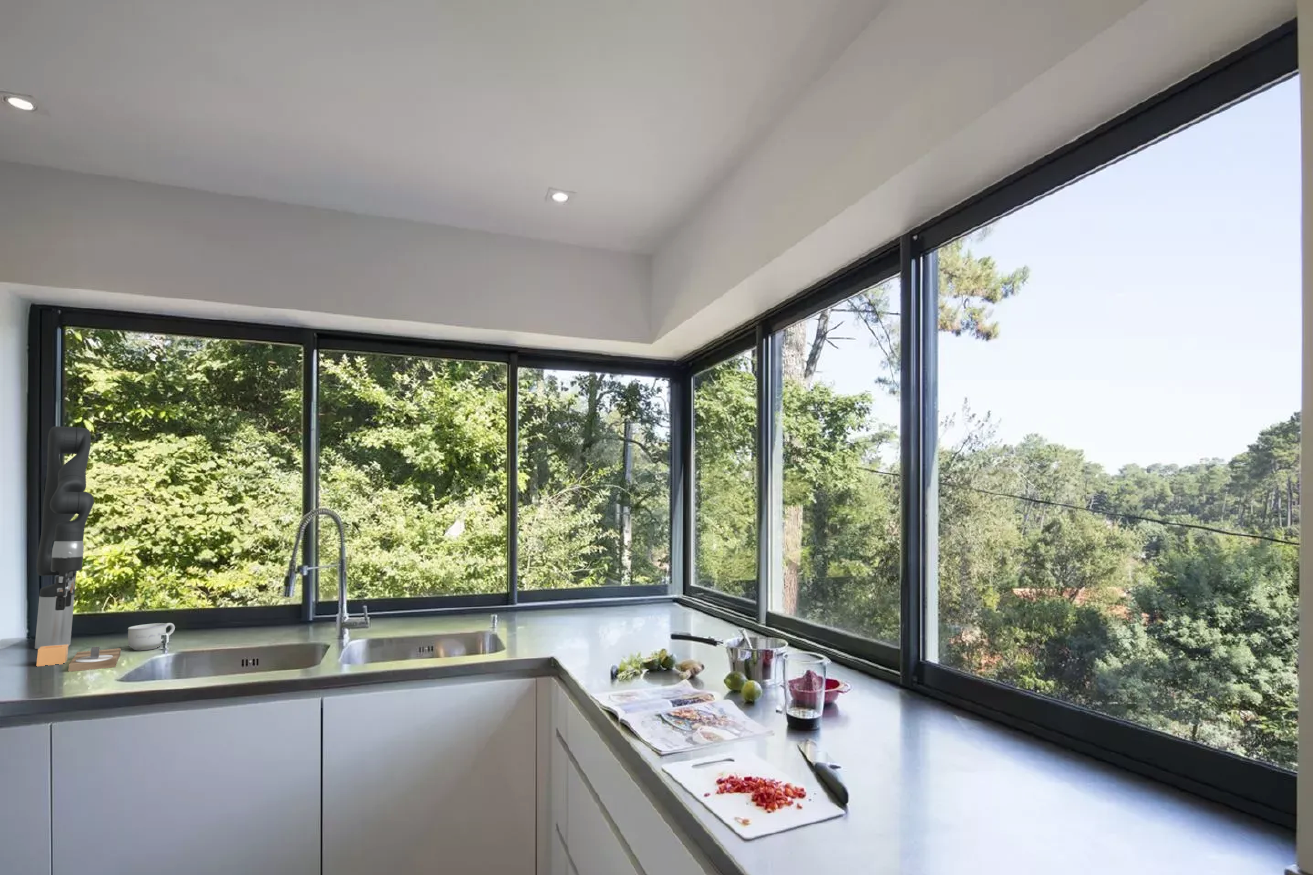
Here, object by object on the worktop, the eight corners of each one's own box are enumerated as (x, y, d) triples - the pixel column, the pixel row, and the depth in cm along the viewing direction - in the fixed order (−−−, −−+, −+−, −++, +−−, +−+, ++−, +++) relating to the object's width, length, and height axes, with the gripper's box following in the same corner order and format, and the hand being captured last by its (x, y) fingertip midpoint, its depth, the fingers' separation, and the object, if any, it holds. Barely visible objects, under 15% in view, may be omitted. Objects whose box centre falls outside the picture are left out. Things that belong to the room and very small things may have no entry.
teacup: (132, 653, 231) (134, 628, 232) (121, 649, 237) (123, 625, 238) (180, 647, 242) (182, 623, 243) (168, 642, 249) (170, 619, 249)
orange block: (36, 666, 212) (37, 649, 213) (39, 662, 217) (40, 646, 217) (64, 663, 216) (66, 647, 216) (67, 660, 220) (68, 644, 221)
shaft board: (77, 658, 223) (78, 640, 224) (120, 654, 230) (121, 637, 230) (68, 671, 207) (69, 652, 207) (115, 667, 213) (116, 648, 213)
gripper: (57, 554, 224) (52, 606, 223) (46, 557, 212) (41, 612, 210) (87, 553, 228) (82, 604, 226) (78, 556, 216) (73, 610, 214)
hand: (63, 608), depth 218 cm, fingers open, 8 cm apart
